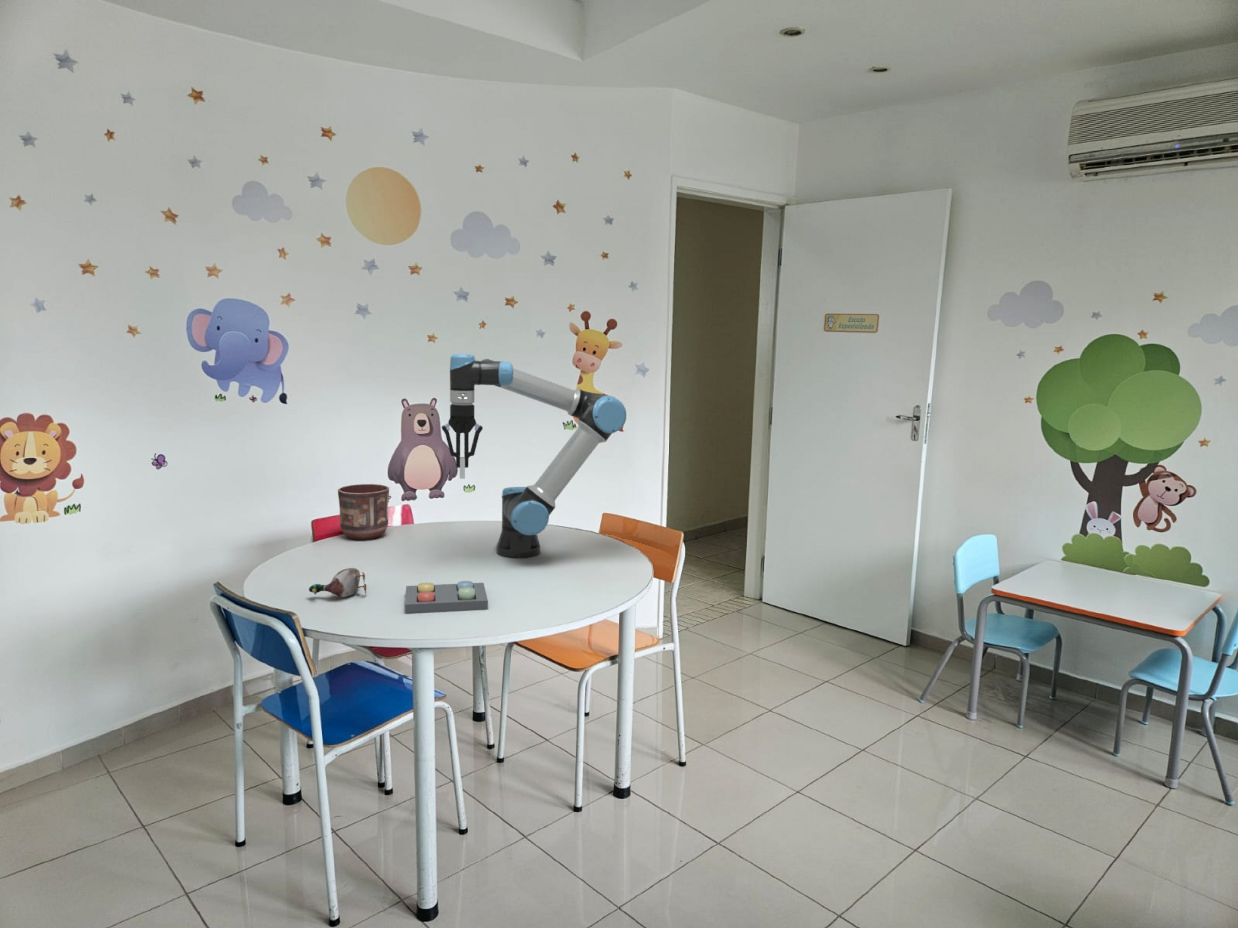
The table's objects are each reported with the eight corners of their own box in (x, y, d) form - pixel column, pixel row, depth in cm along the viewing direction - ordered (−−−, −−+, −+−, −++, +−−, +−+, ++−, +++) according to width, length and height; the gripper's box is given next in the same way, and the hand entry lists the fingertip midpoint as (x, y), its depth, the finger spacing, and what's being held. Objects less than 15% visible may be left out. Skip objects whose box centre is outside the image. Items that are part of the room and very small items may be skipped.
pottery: (381, 543, 278) (380, 494, 275) (332, 541, 278) (330, 492, 275) (395, 531, 295) (395, 484, 293) (349, 529, 296) (348, 483, 293)
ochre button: (433, 593, 226) (433, 582, 225) (434, 598, 221) (433, 586, 221) (418, 593, 225) (418, 582, 224) (418, 598, 220) (417, 587, 220)
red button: (434, 602, 218) (434, 591, 217) (434, 607, 214) (434, 596, 213) (417, 603, 217) (417, 591, 216) (417, 608, 213) (417, 597, 212)
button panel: (483, 590, 231) (483, 582, 231) (487, 609, 216) (487, 600, 215) (406, 594, 226) (406, 585, 225) (405, 613, 210) (405, 604, 210)
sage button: (474, 597, 221) (474, 586, 220) (475, 603, 216) (475, 591, 216) (458, 598, 219) (458, 587, 219) (459, 603, 215) (459, 592, 215)
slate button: (472, 591, 228) (472, 580, 228) (473, 596, 224) (473, 585, 224) (457, 592, 227) (457, 581, 227) (457, 597, 223) (457, 585, 222)
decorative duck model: (303, 581, 215) (316, 563, 229) (307, 606, 216) (320, 587, 231) (360, 575, 216) (369, 558, 231) (363, 601, 218) (372, 582, 233)
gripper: (441, 404, 240) (441, 480, 244) (484, 405, 243) (483, 479, 247) (440, 402, 247) (441, 475, 251) (482, 402, 250) (482, 475, 254)
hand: (462, 477), depth 249 cm, fingers closed
